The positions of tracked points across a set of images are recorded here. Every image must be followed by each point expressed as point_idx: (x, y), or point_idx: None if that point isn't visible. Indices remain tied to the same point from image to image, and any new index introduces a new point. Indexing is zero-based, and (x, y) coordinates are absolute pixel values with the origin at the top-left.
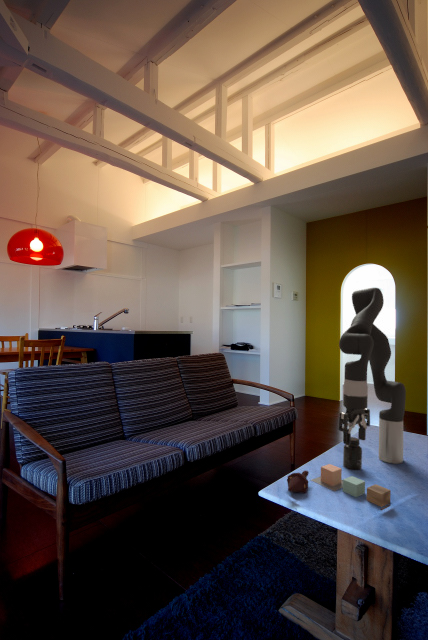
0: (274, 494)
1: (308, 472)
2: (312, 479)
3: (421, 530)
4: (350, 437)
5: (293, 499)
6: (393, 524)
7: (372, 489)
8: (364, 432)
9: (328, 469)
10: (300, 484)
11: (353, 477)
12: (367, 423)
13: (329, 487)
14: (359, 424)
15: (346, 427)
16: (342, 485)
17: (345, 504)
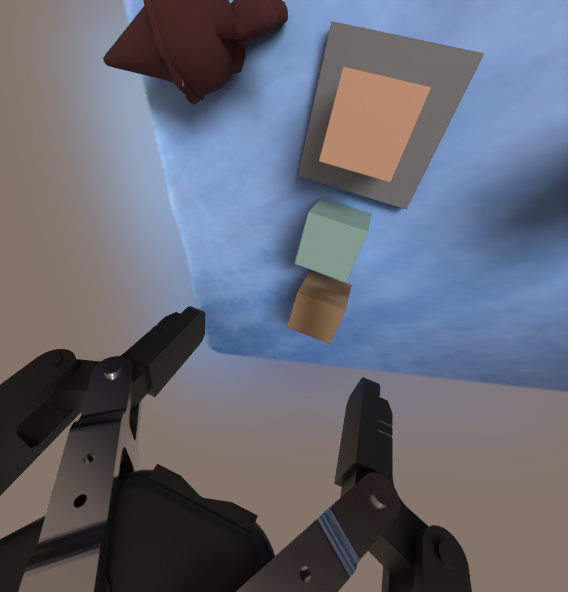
0: None
1: (263, 31)
2: (345, 26)
3: (275, 358)
4: (173, 372)
5: None
6: (259, 322)
7: (298, 306)
8: (339, 458)
9: (333, 128)
10: (161, 76)
11: (355, 241)
12: (385, 576)
13: (315, 147)
14: (346, 513)
15: (49, 425)
16: (366, 183)
17: (263, 225)
